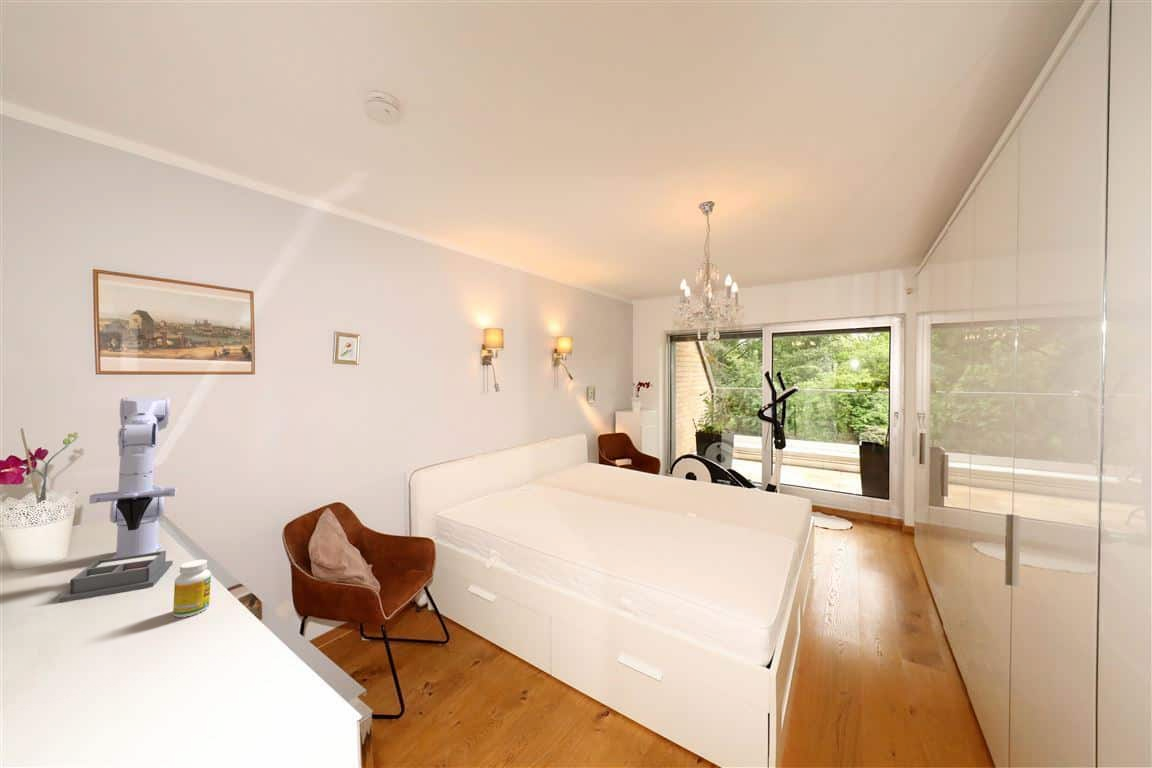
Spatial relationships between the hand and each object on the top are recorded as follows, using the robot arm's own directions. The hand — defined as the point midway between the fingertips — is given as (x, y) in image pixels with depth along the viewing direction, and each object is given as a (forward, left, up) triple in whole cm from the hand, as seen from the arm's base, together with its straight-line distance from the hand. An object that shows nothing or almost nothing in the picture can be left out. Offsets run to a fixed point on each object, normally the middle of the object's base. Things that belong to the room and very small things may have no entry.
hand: (133, 529), depth 98 cm
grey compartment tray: (+6, 0, -10) cm, 12 cm away
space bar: (+3, 0, -8) cm, 9 cm away
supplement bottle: (+31, +17, -11) cm, 36 cm away
